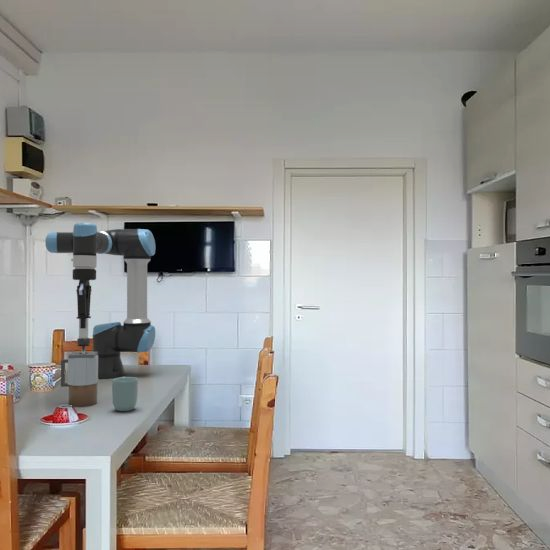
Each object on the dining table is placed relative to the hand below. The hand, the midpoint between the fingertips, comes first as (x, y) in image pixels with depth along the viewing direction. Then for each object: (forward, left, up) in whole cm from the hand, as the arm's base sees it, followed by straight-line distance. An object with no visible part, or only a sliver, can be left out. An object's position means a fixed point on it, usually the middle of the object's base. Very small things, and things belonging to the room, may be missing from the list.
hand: (83, 337), depth 168 cm
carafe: (0, -1, -22) cm, 22 cm away
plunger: (0, 0, -14) cm, 14 cm away
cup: (+11, +15, -23) cm, 29 cm away
